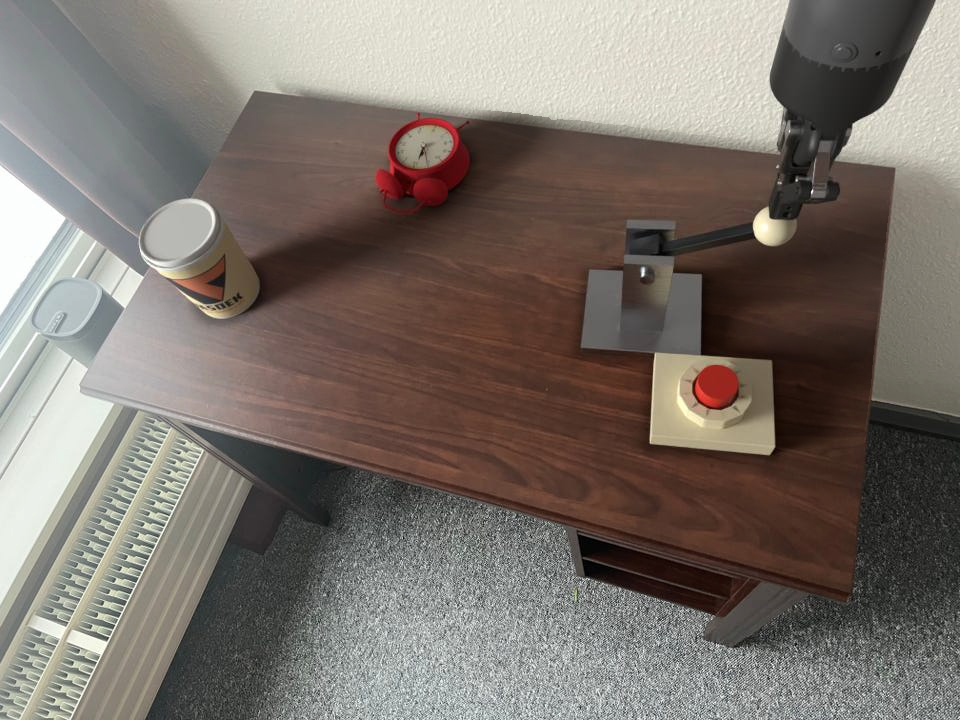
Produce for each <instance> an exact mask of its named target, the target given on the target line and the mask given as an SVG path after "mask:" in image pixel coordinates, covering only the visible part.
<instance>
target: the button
mask: <svg viewBox="0 0 960 720" xmlns="http://www.w3.org/2000/svg"><path fill="white" fill-rule="evenodd" d="M738 386H739V381H738V378H737V376H736V374H735V373H734V372H733V371H732V370H731V369H730V368H728V367H726V366H723V365H710V366H707V367H705V368H704V369H703V370H702V371H701V372H700V373H699V375H698V379H697V382H696V385H695V393H696V396H697V398H698V399H699V401H700V402H701V403H703V404H704V405H706V406H708V407H711V408H722V407H725V406H727V405H729V404H730V403H731V402H732V401H733V399H734V397H735V394H736V392H737V390H738Z"/></svg>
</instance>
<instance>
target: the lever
mask: <svg viewBox="0 0 960 720" xmlns="http://www.w3.org/2000/svg"><path fill="white" fill-rule="evenodd" d="M797 227H798V221H797V218H796V219H794V220H773V219H770V218H769V205H768V206H766V207H764V208H762V209H761V210H760V211H759V212H758V213H757V214H756V216H755V217H754V220H753V221H750V222H747V223H742V224H737V225H733V226H729V227H725V228H720V229H716V230H711V231H707V232H703V233H698V234H694V235H690V236H685V237H682V238H676V239H674V240H672V241H668V242H664V241H663V239H662V238H661V236H660V234H656V235H651V236H647V237H643V238H639V239H635V240H631V241H630V254H629V255H649V256H674V257H677V256H681V255H686V254H690V253H691V254H692V253H695V252H700V251H705V250H709V249H714V248H719V247H723V246H727V245H732V244H737V243H741V242H746V241H750V240H751V241H752V240H755V239H756V240H758V242H760V243H761V244H762V245H765V246H769V247H779V246H781V245H784V244H785V243H788V242H789V241H790V240H791V239H792V238H793V237H794V235H795V233H796V231H797Z"/></svg>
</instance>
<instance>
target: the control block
mask: <svg viewBox="0 0 960 720" xmlns="http://www.w3.org/2000/svg"><path fill="white" fill-rule="evenodd" d="M710 365H723V366H726V367H728V368H730V369H731V370H732V371H733V372H734V373H735V374H736V376H737V378H738V381H739V386H738V390H737V392H736V394H735V397H734V399H733V401H732V402H731V403H730V404H729V405H727V406H725V407H722V408H711V407H708V406H706V405H704V404H703V403H701V402H700V401H699V399H698V398H697V396H696V393H695V385H696V382H697V379H698V375H699V373H700V372H701V371H702V370H703V369H704V368H705V367H707V366H710ZM652 370H653V371H652V389H651V408H650V427H649V428H650V429H649V444H650V445H659V446H670V447H680V448H690V449H700V450H701V449H702V450H711V451H721V452H733V453H734V452H735V453H742V454H743V453H744V454H754V455H764V456H771V454H772V453H773V451H774V450H775V448H776V428H775V427H776V426H775V404H774V402H775V401H774V376H773V373H774V372H773V360H771V359H760V358H759V359H757V358H743V357H728V356H715V355H702V354H701V355H686V354H671V353H657V352H656V353H655V358H653V369H652Z"/></svg>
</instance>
